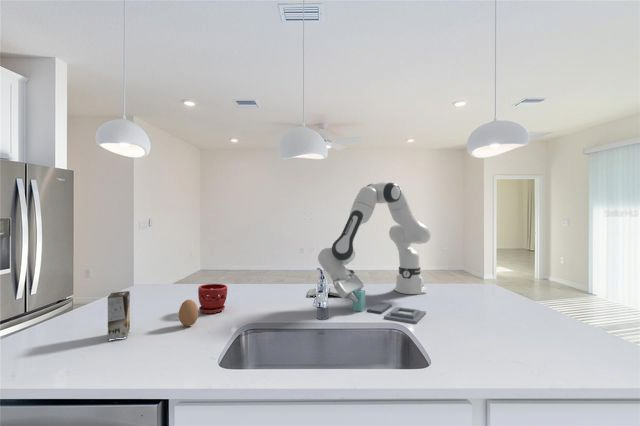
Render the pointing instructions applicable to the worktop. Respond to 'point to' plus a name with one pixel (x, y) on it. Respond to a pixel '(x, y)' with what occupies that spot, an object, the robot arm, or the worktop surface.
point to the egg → (188, 313)
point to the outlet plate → (405, 315)
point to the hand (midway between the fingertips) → (360, 299)
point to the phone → (379, 308)
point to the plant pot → (212, 297)
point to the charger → (361, 302)
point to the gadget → (331, 292)
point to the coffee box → (118, 314)
